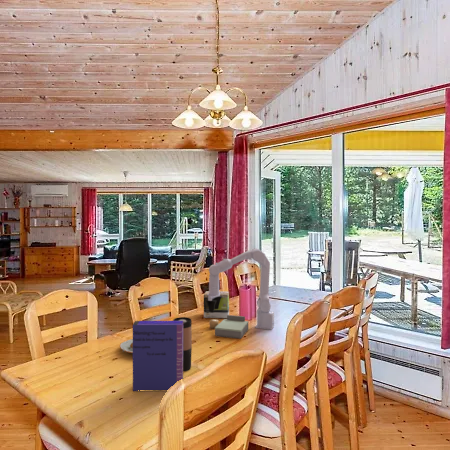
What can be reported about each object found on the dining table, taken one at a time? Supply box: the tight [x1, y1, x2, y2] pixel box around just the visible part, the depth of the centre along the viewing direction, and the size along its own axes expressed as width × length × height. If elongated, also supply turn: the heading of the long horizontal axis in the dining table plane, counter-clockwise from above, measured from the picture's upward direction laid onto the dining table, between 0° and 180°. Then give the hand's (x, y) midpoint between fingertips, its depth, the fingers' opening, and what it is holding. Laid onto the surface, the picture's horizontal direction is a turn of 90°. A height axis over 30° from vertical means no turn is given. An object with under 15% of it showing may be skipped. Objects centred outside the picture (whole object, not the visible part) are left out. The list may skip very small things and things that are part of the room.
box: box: [214, 323, 249, 340], centre depth 191 cm, size 14×16×4 cm
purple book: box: [132, 320, 184, 392], centre depth 129 cm, size 17×5×24 cm, turn 92°
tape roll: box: [209, 318, 220, 330], centre depth 199 cm, size 5×5×4 cm
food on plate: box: [119, 338, 133, 354], centre depth 167 cm, size 25×25×7 cm
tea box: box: [203, 290, 230, 319], centre depth 222 cm, size 15×10×15 cm
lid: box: [214, 314, 249, 332], centre depth 191 cm, size 14×16×3 cm
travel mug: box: [172, 316, 193, 373], centre depth 146 cm, size 8×8×20 cm
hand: (214, 310), depth 199 cm, fingers open, 7 cm apart
